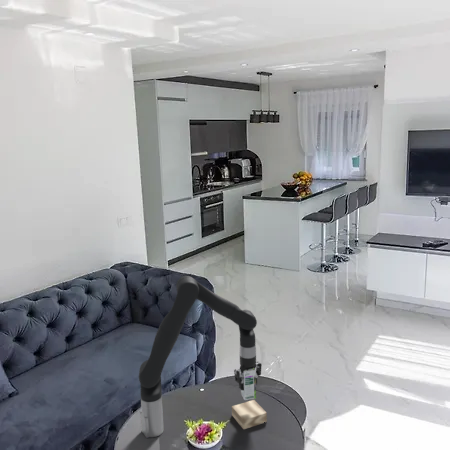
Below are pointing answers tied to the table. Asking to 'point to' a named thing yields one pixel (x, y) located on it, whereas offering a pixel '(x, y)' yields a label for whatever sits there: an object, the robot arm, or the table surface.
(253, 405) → the birch block
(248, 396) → the syrup box
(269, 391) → the table surface
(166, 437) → the table surface
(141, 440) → the table surface
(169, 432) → the table surface
